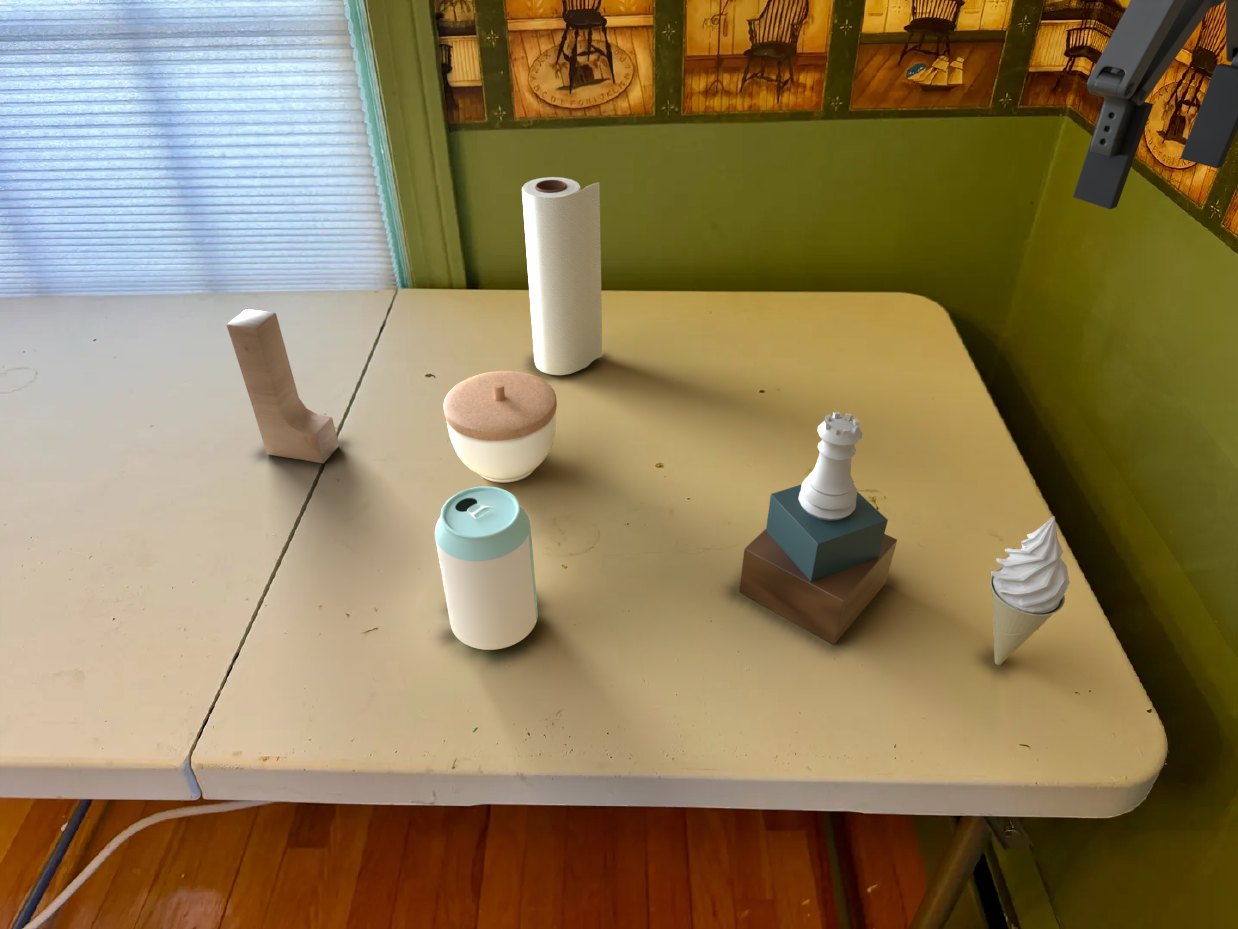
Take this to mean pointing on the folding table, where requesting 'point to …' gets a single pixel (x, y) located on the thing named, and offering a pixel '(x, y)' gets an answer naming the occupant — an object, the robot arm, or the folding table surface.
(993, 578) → the ice cream cone
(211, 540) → the folding table surface
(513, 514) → the can
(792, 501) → the top block
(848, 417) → the rook chess piece
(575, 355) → the paper towel roll
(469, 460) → the trinket box
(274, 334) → the wooden block
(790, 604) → the base block
